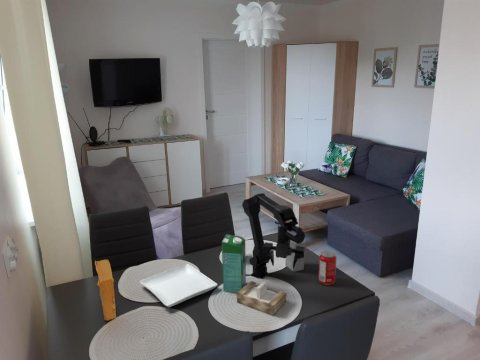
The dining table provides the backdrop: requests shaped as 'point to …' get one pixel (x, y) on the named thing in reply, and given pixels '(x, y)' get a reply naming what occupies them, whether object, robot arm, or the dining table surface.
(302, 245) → the skincare box
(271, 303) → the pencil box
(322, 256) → the red food canister
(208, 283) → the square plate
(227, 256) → the milk carton
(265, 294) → the lid
